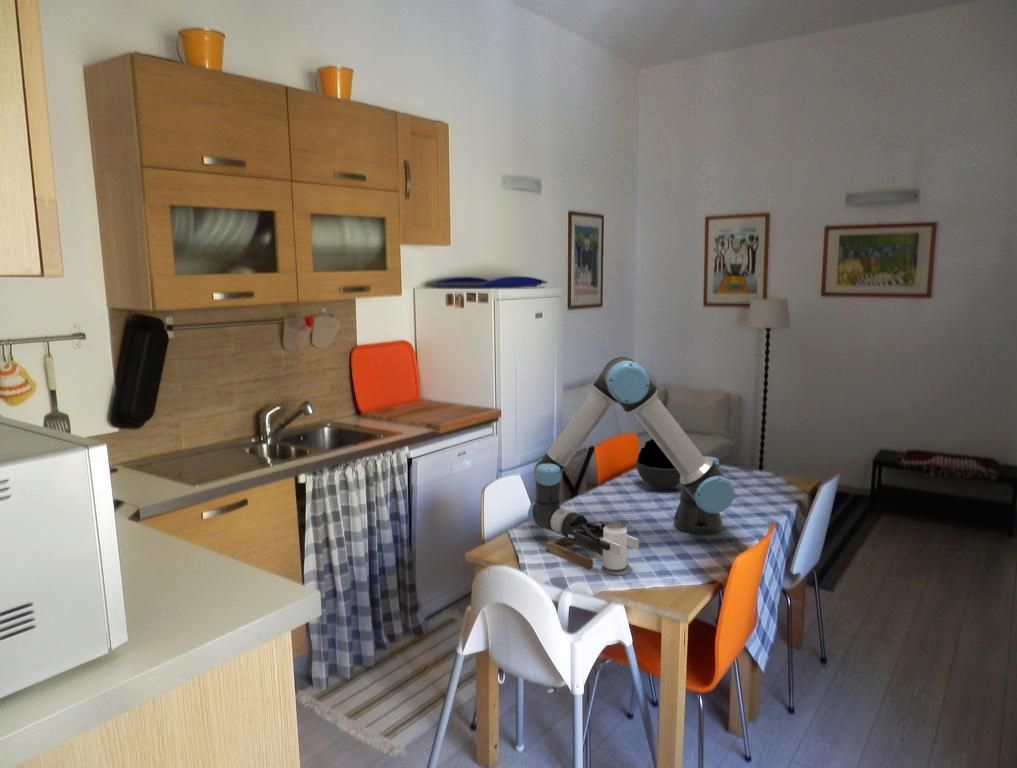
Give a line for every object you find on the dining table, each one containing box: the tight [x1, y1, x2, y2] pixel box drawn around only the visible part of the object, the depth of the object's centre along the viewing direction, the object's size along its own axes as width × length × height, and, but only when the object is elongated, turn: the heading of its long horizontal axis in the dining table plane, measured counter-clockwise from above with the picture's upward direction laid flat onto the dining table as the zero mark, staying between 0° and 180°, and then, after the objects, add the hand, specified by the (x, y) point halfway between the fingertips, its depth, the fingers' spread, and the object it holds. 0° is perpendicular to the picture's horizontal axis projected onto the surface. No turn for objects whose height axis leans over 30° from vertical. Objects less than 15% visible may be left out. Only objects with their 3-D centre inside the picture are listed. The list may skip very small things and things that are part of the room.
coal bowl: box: [635, 438, 681, 490], centre depth 276 cm, size 20×20×19 cm
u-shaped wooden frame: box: [545, 536, 603, 570], centre depth 211 cm, size 12×18×2 cm, turn 39°
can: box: [602, 520, 628, 570], centre depth 200 cm, size 6×6×12 cm
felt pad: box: [601, 564, 632, 577], centre depth 201 cm, size 8×8×1 cm
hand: (628, 547), depth 196 cm, fingers closed on can, 6 cm apart
